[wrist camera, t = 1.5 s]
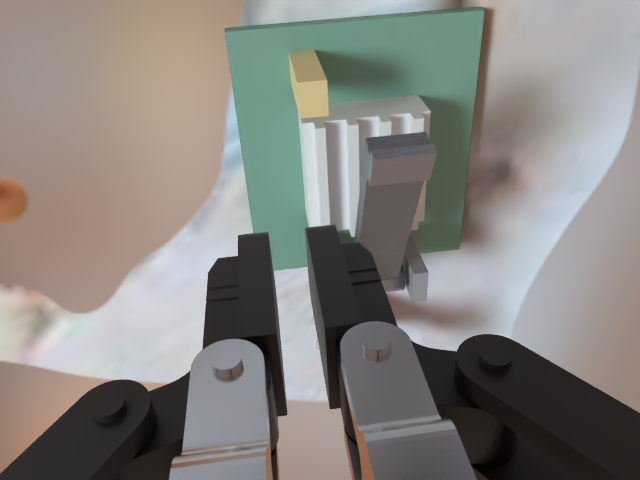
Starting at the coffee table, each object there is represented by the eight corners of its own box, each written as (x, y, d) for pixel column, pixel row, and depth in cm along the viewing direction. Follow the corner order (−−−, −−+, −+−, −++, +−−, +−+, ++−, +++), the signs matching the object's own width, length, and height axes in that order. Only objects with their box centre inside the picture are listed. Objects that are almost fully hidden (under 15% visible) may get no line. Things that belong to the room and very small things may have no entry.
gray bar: (354, 125, 27) (362, 161, 25) (436, 117, 27) (447, 152, 26) (342, 276, 40) (346, 304, 39) (397, 269, 40) (403, 297, 39)
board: (225, 28, 34) (222, 62, 28) (478, 6, 35) (530, 35, 29) (258, 264, 44) (262, 329, 38) (455, 242, 45) (489, 301, 39)
